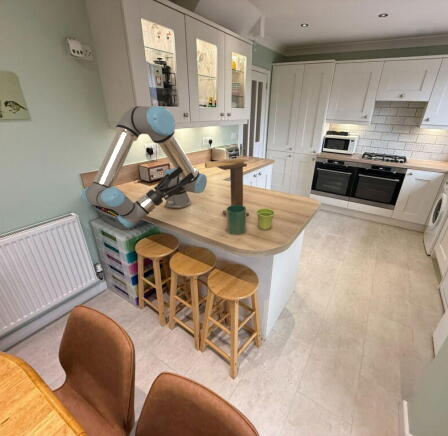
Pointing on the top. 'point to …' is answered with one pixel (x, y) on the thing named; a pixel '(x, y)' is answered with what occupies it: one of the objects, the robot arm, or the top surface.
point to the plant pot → (265, 218)
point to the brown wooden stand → (236, 183)
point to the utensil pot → (236, 219)
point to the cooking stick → (224, 162)
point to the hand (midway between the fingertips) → (187, 171)
